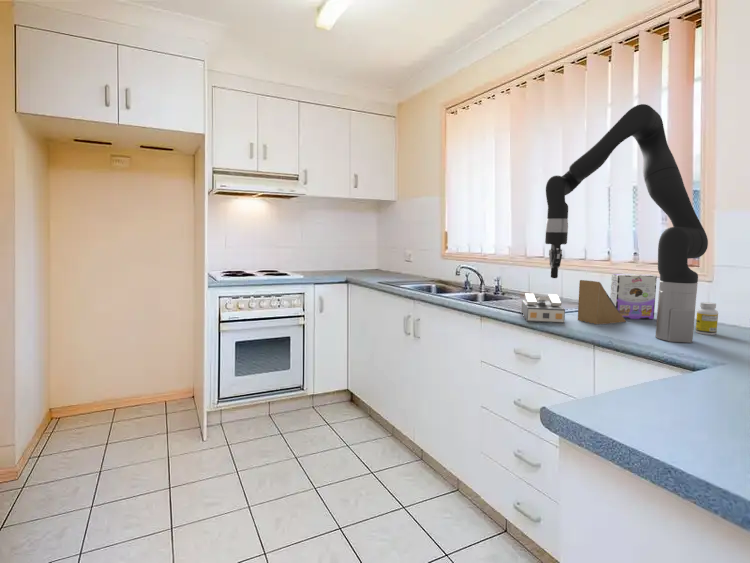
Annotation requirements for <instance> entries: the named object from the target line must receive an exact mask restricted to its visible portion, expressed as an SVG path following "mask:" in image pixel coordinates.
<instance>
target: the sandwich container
mask: <svg viewBox="0 0 750 563" xmlns="http://www.w3.org/2000/svg"><path fill="white" fill-rule="evenodd" d="M578 284H579V286H578V287H579V288H578V305H577V308H578V309H577V321H579V320H580V322H583V321H585V322H584V323H588V322H589V324H592V323H594V325H605V324H608V325H609V324H615V323H616V324H617V323H626V322H627V320H626V319H624V318H623V316H622V315H621V313H620V312H619V311H618V309H617V308H616V306H615V305H614V303H613V302H612V300H611V299H610V297H611V296H609V294H608V293H607V291H606V290H605V288H604V286H603V285H602V283H601V282H600V281H595V280H594V281H593V280H587V279H586V280H585V279H584V280H583V279H580V280H579V283H578Z"/></svg>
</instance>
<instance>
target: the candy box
mask: <svg viewBox="0 0 750 563" xmlns="http://www.w3.org/2000/svg"><path fill="white" fill-rule="evenodd" d="M610 287H611V288H610V296H609V297H610V299H611V300H612V302H613V303H614V305H615V306H616V308H617V309H618V311H619V312H620V313H621V315H622V316H623V318H624V319H625V320H626V319H627V320H628V319H632V320H635V319H636V320H654V318H655V306H656V305H655V304H656V292H657V290H656V289H657V275H654V274H646V273H645V274H642V273H641V274H639V273H635V274H634V273H612V274H611V285H610Z"/></svg>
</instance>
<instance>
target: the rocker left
mask: <svg viewBox="0 0 750 563" xmlns="http://www.w3.org/2000/svg"><path fill="white" fill-rule="evenodd" d="M524 298H525V301H526V302H527V305H537V301H536V296H535V294H534V293H524Z"/></svg>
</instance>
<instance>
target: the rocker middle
mask: <svg viewBox="0 0 750 563" xmlns="http://www.w3.org/2000/svg"><path fill="white" fill-rule="evenodd" d="M535 298H536V297H535ZM536 301H537V302H546V301H549V297H548V296H539V297H537V298H536ZM549 302H550V301H549Z"/></svg>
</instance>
